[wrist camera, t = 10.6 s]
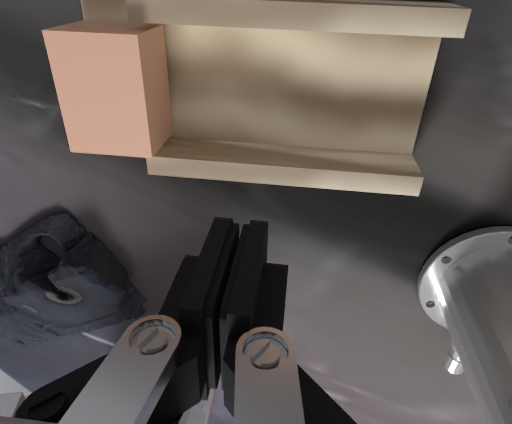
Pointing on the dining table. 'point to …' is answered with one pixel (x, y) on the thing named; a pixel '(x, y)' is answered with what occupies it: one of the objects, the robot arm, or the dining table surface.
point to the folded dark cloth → (61, 285)
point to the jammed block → (112, 86)
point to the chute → (295, 87)
